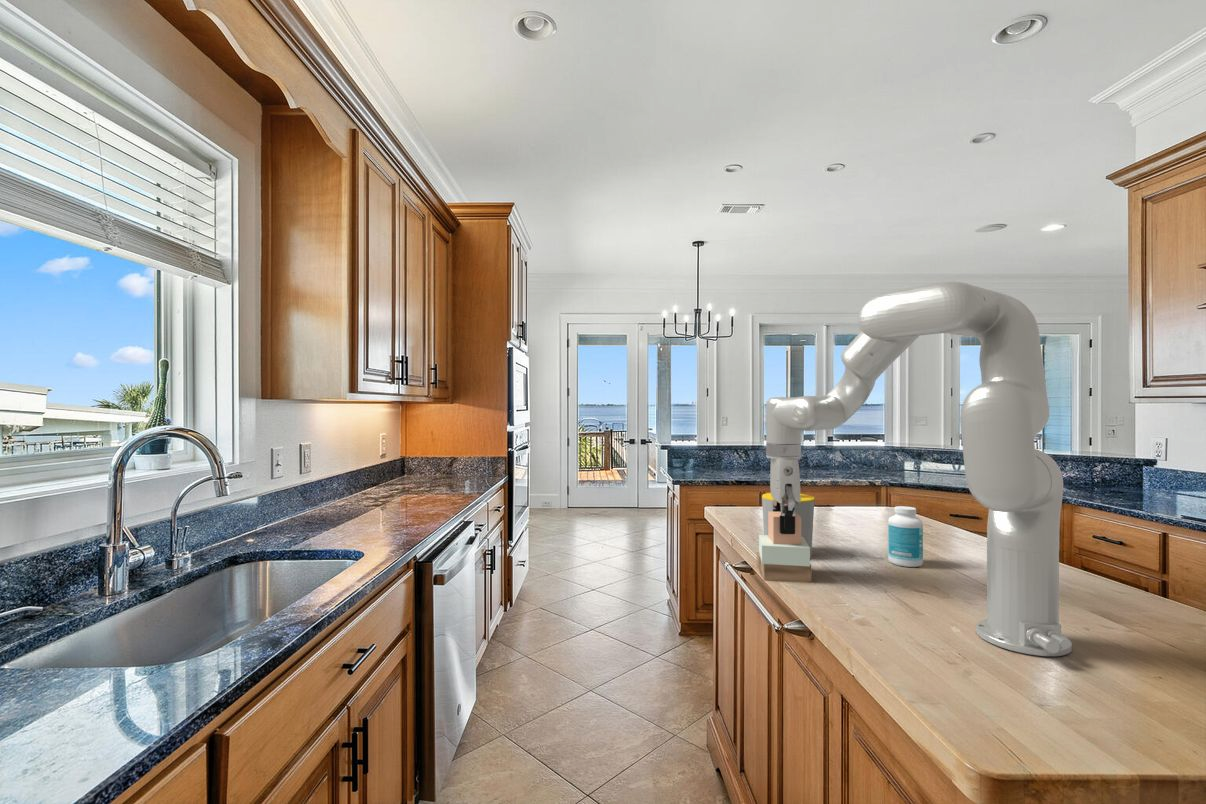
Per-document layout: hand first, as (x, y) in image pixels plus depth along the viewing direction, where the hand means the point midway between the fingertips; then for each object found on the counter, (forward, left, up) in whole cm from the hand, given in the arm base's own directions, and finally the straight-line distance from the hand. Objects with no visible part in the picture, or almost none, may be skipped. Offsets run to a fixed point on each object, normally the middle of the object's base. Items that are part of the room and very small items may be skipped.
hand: (783, 529), depth 129 cm
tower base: (0, 0, -11) cm, 11 cm away
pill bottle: (+11, -31, -10) cm, 35 cm away
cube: (0, 0, -3) cm, 3 cm away
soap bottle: (+18, -5, -10) cm, 21 cm away
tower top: (0, 0, -7) cm, 7 cm away
